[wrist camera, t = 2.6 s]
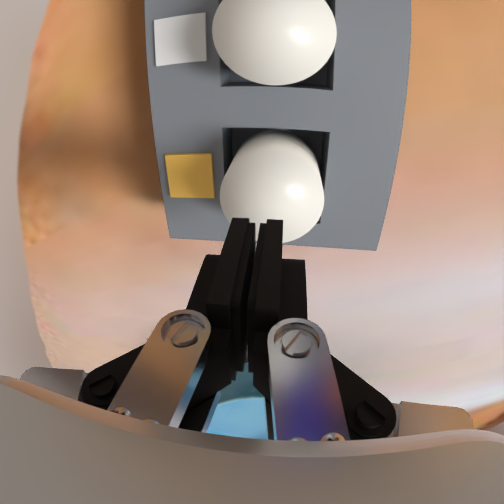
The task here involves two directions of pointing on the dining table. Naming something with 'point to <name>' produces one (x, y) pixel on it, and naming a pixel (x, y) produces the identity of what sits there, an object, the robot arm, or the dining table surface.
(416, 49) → the dining table surface
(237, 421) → the casserole dish
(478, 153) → the dining table surface
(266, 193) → the button
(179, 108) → the button board
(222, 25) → the middle button
